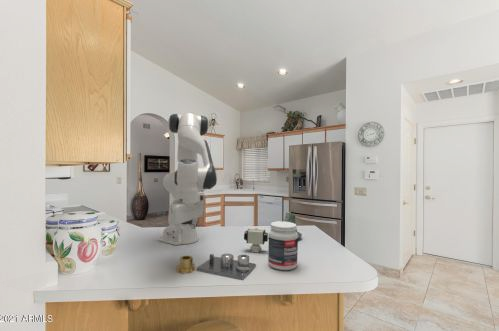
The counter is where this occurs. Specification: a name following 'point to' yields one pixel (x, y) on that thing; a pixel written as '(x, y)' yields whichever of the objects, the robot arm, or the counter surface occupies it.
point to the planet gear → (186, 264)
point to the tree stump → (291, 219)
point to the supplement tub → (283, 245)
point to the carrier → (228, 266)
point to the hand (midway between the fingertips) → (186, 231)
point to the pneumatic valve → (255, 238)
